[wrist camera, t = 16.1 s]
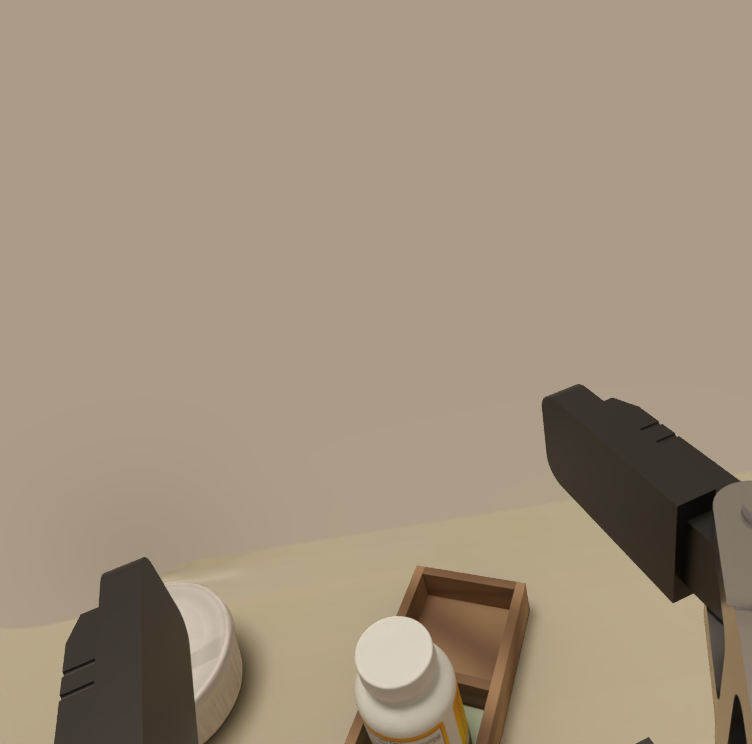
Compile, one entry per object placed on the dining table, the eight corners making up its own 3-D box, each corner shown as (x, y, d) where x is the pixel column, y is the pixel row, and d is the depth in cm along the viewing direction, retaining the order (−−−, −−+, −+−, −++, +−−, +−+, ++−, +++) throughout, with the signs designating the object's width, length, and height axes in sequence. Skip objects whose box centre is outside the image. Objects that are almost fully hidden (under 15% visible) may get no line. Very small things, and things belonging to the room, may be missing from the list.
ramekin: (180, 818, 37) (143, 772, 34) (65, 745, 43) (25, 701, 40) (288, 653, 45) (264, 605, 42) (177, 609, 50) (150, 565, 48)
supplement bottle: (439, 826, 33) (401, 726, 28) (363, 766, 36) (318, 667, 31) (492, 737, 36) (467, 633, 31) (418, 689, 39) (384, 589, 34)
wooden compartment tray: (432, 1043, 27) (420, 1024, 25) (280, 965, 30) (262, 945, 29) (529, 609, 43) (525, 583, 42) (423, 590, 46) (416, 565, 45)
